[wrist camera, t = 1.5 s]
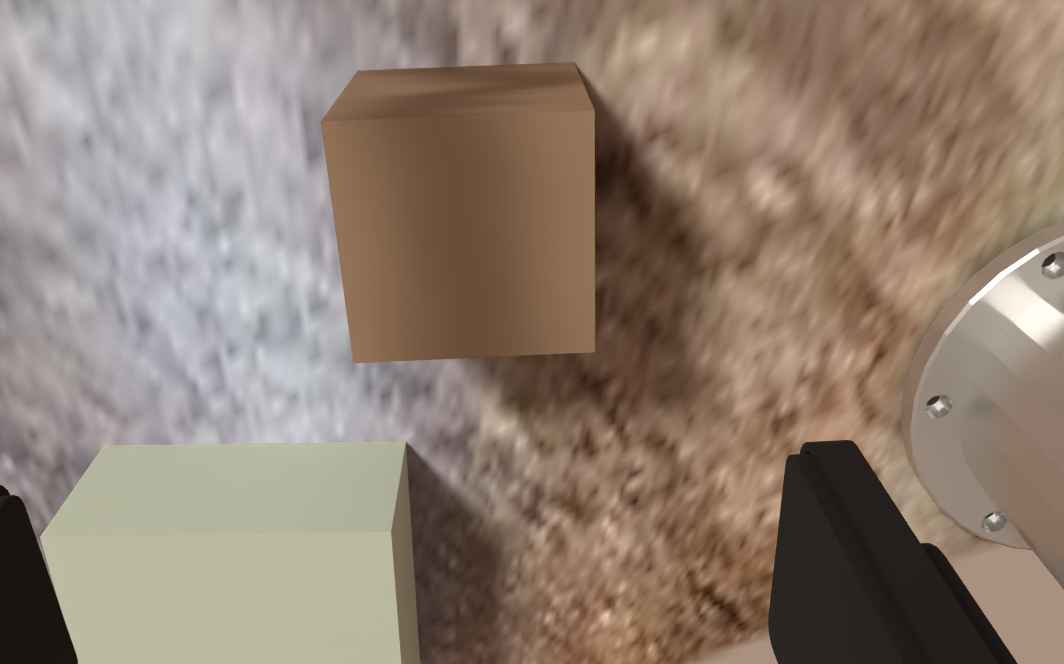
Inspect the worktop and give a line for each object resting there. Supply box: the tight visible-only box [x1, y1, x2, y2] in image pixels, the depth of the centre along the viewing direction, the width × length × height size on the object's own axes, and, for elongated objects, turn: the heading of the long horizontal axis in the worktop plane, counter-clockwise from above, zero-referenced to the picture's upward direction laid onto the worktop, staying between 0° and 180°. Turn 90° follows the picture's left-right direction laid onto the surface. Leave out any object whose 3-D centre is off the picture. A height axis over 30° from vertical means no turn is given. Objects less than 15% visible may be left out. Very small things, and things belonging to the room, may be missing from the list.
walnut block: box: [321, 62, 595, 363], centre depth 24 cm, size 6×6×6 cm
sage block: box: [40, 442, 420, 664], centre depth 31 cm, size 10×10×5 cm
